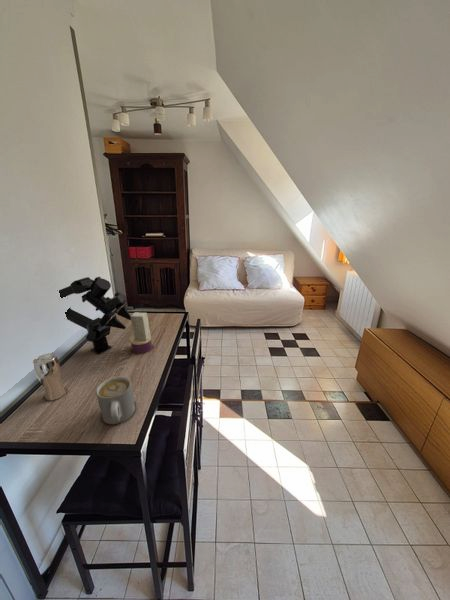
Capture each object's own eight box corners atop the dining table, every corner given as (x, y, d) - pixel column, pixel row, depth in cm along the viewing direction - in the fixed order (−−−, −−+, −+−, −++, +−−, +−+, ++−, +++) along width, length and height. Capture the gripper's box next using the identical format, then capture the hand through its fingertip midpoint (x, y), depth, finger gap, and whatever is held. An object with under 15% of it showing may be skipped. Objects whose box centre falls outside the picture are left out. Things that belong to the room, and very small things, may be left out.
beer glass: (51, 388, 92) (40, 353, 87) (70, 387, 92) (61, 352, 87) (39, 402, 85) (27, 365, 80) (60, 400, 86) (49, 363, 81)
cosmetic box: (150, 336, 117) (147, 312, 113) (146, 341, 113) (142, 316, 109) (138, 335, 118) (134, 311, 114) (133, 339, 114) (129, 315, 110)
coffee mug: (107, 402, 85) (102, 378, 81) (137, 399, 86) (133, 375, 83) (93, 435, 72) (86, 408, 69) (129, 431, 74) (124, 404, 70)
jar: (127, 350, 116) (125, 340, 114) (142, 341, 123) (140, 331, 121) (142, 355, 111) (140, 345, 110) (156, 346, 119) (155, 335, 117)
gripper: (101, 296, 98) (133, 320, 102) (118, 282, 115) (145, 304, 119) (84, 314, 100) (117, 338, 104) (104, 299, 118) (131, 319, 122)
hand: (128, 323), depth 112 cm, fingers open, 9 cm apart
